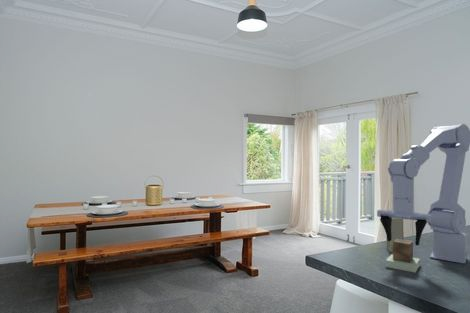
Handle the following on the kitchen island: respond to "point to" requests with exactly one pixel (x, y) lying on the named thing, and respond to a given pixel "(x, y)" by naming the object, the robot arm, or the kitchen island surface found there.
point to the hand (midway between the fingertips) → (403, 242)
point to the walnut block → (403, 250)
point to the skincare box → (395, 232)
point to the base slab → (403, 264)
